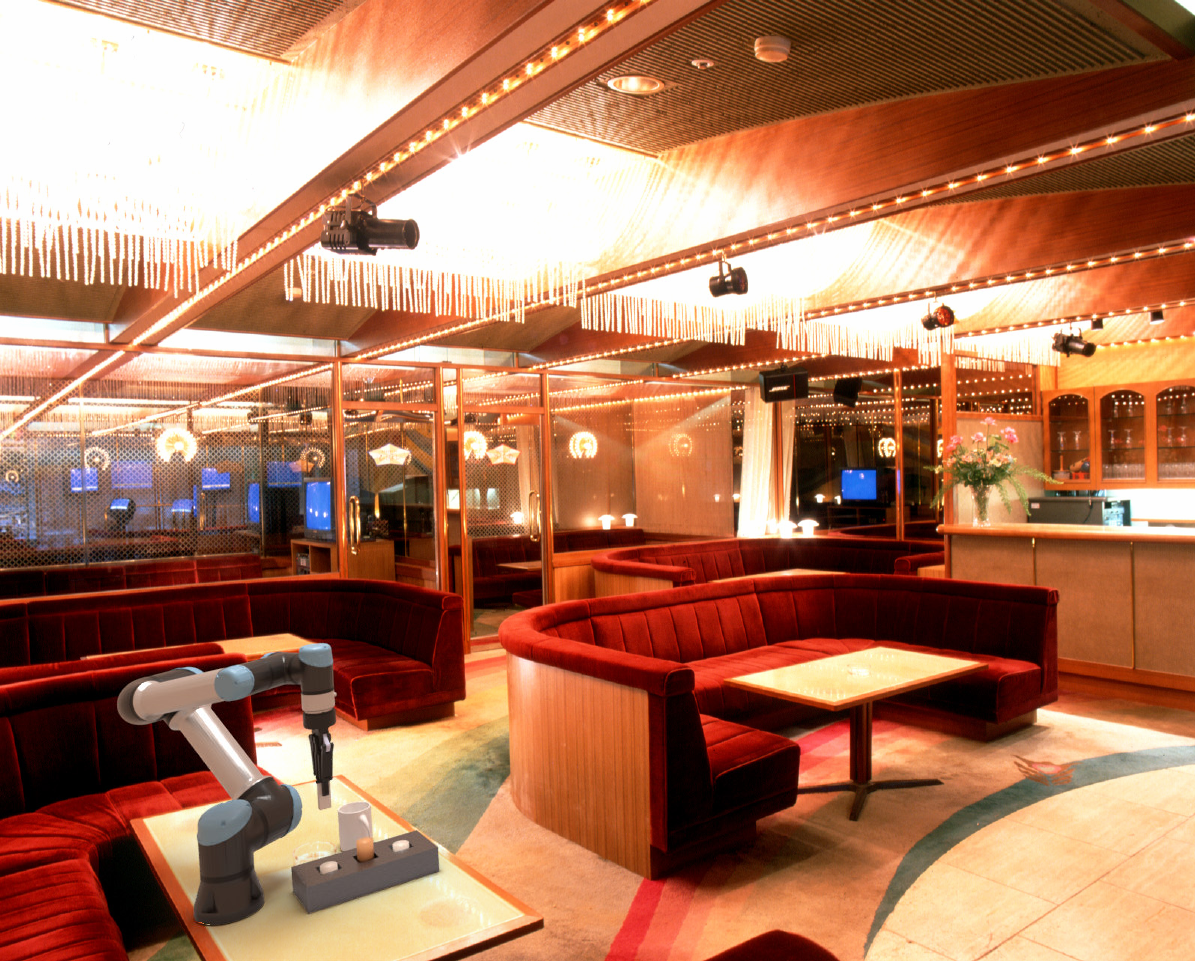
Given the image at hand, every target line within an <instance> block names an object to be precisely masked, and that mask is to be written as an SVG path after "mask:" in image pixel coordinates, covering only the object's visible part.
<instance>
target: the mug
mask: <svg viewBox="0 0 1195 961" xmlns="http://www.w3.org/2000/svg"><path fill="white" fill-rule="evenodd" d="M337 818H338V819H337V821H338V822H337V823H338V834H339V835H338V836H339V848H340V849H341V852H344V851H347V850H351V849H354V848H357V846H356V841H357V840H358V839H361V838H364V837H371V838H373V839H374V837H373V835H374V834H373V820H372V818H373V817H372V804H371V802H368V801H365V800H364V801H363V800H362V801H360V800H359V801H351V802H348V803H346V804H345V803H344V804H343V805H341V806H339V807H338V808H337Z"/></svg>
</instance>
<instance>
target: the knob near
mask: <svg viewBox="0 0 1195 961" xmlns="http://www.w3.org/2000/svg"><path fill="white" fill-rule="evenodd" d="M335 870H338V867H337V862H335V861H329V862H325V863H323V864H321V865H320V874H321V875H322V874H325V873H328V872H332V871H335Z"/></svg>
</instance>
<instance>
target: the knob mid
mask: <svg viewBox="0 0 1195 961" xmlns="http://www.w3.org/2000/svg"><path fill="white" fill-rule="evenodd" d="M373 843H374V837H373V838H371V837H364V838H361V839H358V840H357V841H356V846H357V862H358V863H361V862H365V861H368V860H371V859H374V846H373Z"/></svg>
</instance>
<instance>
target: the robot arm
mask: <svg viewBox="0 0 1195 961" xmlns="http://www.w3.org/2000/svg"><path fill="white" fill-rule="evenodd" d="M332 651H333V650H332V647H331V645H330V644H328V643H326V642H325V643H324V642H322V643H321V642H319V643H311V644H305V645H302V646H300V647H299V650H298V652H285V651H274V652H272V651H271V652H267V653H265V654H264V655H262V657H260V658H258V659H255V660H251V661H247V662H244V663H240V664H235V665H231V666H228V667H223V668H219V669H218V668H217V669H214V670H210V671H205V672H204V671H202V670H201V669H199V668H196V667H192V666H186V667H177V668H174V669H171V670H169V671H165V672H162V673H157V674H153V675H149V676H144V677H141V678H138V679H136V680H133V681H131V682H130V683H128V684H127V685H126V686H125V687H124V688H123V689H122V690H121V692H120V693H119V695H118V698H117V702H116V703H117V704H116V705H117V711H118V712H117V713H118V714H119V716H120V717H121V718H122V719H123V720H124V721H125V722H127V723H129V724H131V725H138V726H140V725H141V726H143V725H148V724H152V723H157V722H159V721H160V722H161V721H162V720H163V721H164V722H165V723H166V725H167V726H168V727H169V728H170V729H171V730H172V731H180V733H182V734H183V736H184V738H186V740H187V741H188V743H189V744H190V745H191V747H192V748H193V749H194V751H195V752H196V753H197V754H198V755H199V757H200V758H201V760H202V761H203V763H205V765H206V766H207V768H208V769H209V770H210V771H211V773H212V775H213V776H214V777H215V779H216V780H217V781H218V782H219V784H220V785H221V786H222V787H223V789H224V790H225V792H226V793H227V795H228V796H229V797H230V798H231V799H232V800H227V801H225V802H220V803H218V804H216V805H214V806H211V807H210V808H208V809H206V811H204V812H203V813H202V814H201V816H200V817H199V819H198V822H197V833H196V840H197V848H198V850H197V851H198V864H199V878H200V879H199V881H200V882H199V886H198V890H197V894H196V897H195V901H194V904H193V919H194V918H195V920H194V921H195V922H196V921H197V922H202V923H204V924H210V925H209V926H221V925H226V924H230V923H234V922H237V921H240V920H243V919H245V918H248V917H251V916H252V915H253V914H255V913H256V912H259V910H260V909H261V908H262V907H263V905H264V904H265V892H264V887H263V886H262V884H261V882H260V879H259V877H258V875H257V872H256V870H255V852H257V851H258V850H261V849H262V848H265V847H267V846H268V845H269V844H272V843H273V842H276V841H277V840H279V839H282V838H284V837H286V836H287V835H288V834H290V833H291V832H292V831H294V830H296V828H297V827H298V825H299V824H300V822H301V819H302V815H303V803H302V802H303V801H302V798H301V795H300V793H299V791H297V788H296V787H294V786H292V785H291V784H286V783H285V784H284V783H281V784H279V783H278V782H277V781H276V779H275V778H274V777H273V776H271V775H264V774H262V773H261V771H260V770H259V768H257V766H256V765H255V763H254V762H253V761H252V759H251V758H250V757H249V755H247V753H246V752H245V750H244V749H243V748H242V747H241V745H240V744H239V743H238V741H237V740H236V739H235V738H234V737H233V735H232V733H230V731H229V729H227V728H226V726H225V725H224V724H223V722H222V721H221V720H220V718H219V717H218V715H216V713H215V711H213V710H212V705H213V704H217V703H221V702H224V701H225V702H231V701H232V702H233V701H237V700H242V699H244V698H246V697H249V696H252V695H255V694H257V693H261V692H265V691H268V690H271V689H273V688H277V687H280V686H283V685H300V691H301V692H300V695H301V696H300V698H301V709H302V711H303V713H302V723H303V724H302V725H303V728H304V729H306V730H308V731H309V730H311V733H310V734H308V736H307V737H308V741H309V746H310V754H311V763H312V770H313V772H312V774H313V776H314V777H315V784H316V792H317V808H318V810H319V811H323V810H328V809H330V808H332V794H331V793H332V792H331V781H332V780H333V778H334V777H333V775H334V774H333V773H334V772H333V771H334V769H333V768H334V767H333V766H334V765H333V764H334V748H335V747H334V746H335V744H334V741H333V742H331V741H332V735H331V732H330V730H329V728H330V727H333V726H334V725H335V724H336V723H337V711H336V708H334V707H335V706H336V704H335V703H336V699H335V697H337V696H338V695H337V692H335V685H334V659H333V653H332ZM197 922H196V923H197Z"/></svg>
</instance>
